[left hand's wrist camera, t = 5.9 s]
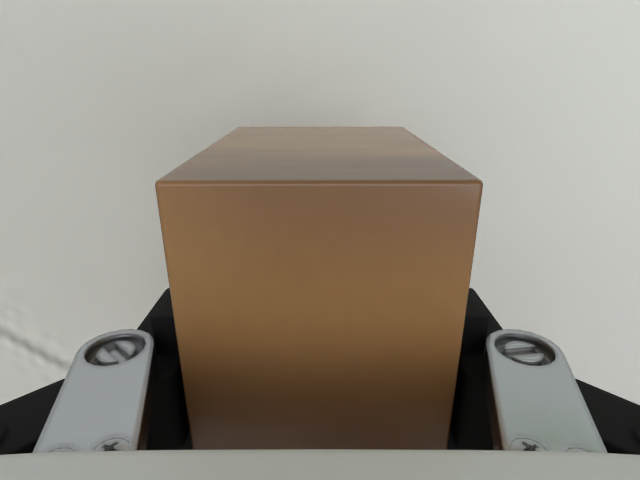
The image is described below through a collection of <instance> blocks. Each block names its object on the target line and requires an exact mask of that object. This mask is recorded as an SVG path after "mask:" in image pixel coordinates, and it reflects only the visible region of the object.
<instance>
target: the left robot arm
mask: <svg viewBox="0 0 640 480" xmlns="http://www.w3.org/2000/svg"><path fill="white" fill-rule="evenodd" d="M0 480H640V405H637V404H635V403H633V402H630V401H628V400H625V399H623V398H621V397H618V396H616V395H613V394H611V393H609V392H606V391H604V390H601V389H599V388H597V387H594V386H592V385H589V384H587V383H585V382H582V381H580V380H577V379H575V378H574V376H573V373H572V371H571V369H570V367H569V364H568V362H567V360H566V357H565V355H564V353H563V352H562V351H561V349H560V348H559V347H558V346H557V345H556V344H554V343H553V342H552V341H550V340H548V339H546V338H544V337H542V336H540V335H537V334H534V333H531V332H527V331H522V330H513V329H506V330H503V329H502V328H501V326H500V325H499V324H498V322H497V321H496V319H495V318H494V317H493V315H492V314H491V313H490V311H489V310H488V308H487V307H486V306H485V304H484V303H483V302H482V300H481V299H480V298H479V296H478V295H477V293H476V292H475V291H474V290H473V289H472V288H469V292H468V299H467V306H466V314H465V321H464V329H463V336H462V343H461V351H460V358H459V366H458V373H457V380H456V388H455V395H454V403H453V410H452V417H451V425H450V432H449V440H448V447H447V450H362V449H278V450H192V443H191V435H190V428H189V421H188V414H187V407H186V400H185V393H184V386H183V379H182V372H181V365H180V357H179V350H178V343H177V336H176V329H175V322H174V315H173V308H172V301H171V294H170V288H168V289H167V290H166V291H165V292H164V293H163V295H162V296H161V297H160V299H159V300H158V301H157V303H156V304H155V305H154V307H153V308H152V310H151V311H150V312H149V314H148V315H147V316H146V318H145V319H144V321H143V322H142V323H141V325H140V326H139V327H138V329H137V330H134V329H127V330H118V331H113V332H109V333H106V334H103V335H100V336H98V337H96V338H94V339H92V340H90V341H88V342H87V343H86V344H84V345H83V346H82V347H81V348H80V349H79V351H78V352H77V353H76V355H75V357H74V360H73V362H72V364H71V367H70V369H69V371H68V373H67V376H66V378H65V379H62V380H60V381H58V382H55V383H53V384H50V385H48V386H46V387H43V388H41V389H38V390H36V391H34V392H31V393H29V394H26V395H24V396H22V397H19V398H17V399H14V400H12V401H10V402H7V403H5V404H2V405H0Z"/></svg>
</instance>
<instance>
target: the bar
mask: <svg viewBox="0 0 640 480" xmlns="http://www.w3.org/2000/svg"><path fill="white" fill-rule="evenodd" d="M155 187H156V194H157V201H158V209H159V216H160V223H161V230H162V237H163V244H164V251H165V258H166V265H167V272H168V279H169V287H170V294H171V301H172V308H173V315H174V322H175V329H176V336H177V343H178V350H179V357H180V365H181V372H182V379H183V386H184V393H185V400H186V407H187V414H188V421H189V428H190V435H191V443H192V450H278V449H362V450H447V447H448V440H449V432H450V425H451V417H452V410H453V403H454V395H455V388H456V380H457V373H458V366H459V358H460V351H461V343H462V336H463V329H464V321H465V314H466V306H467V299H468V292H469V284H470V277H471V269H472V262H473V255H474V247H475V240H476V232H477V225H478V218H479V210H480V203H481V195H482V188H483V183H482V181H481V180H480V179H478V178H477V177H475V176H474V175H472V174H471V173H469V172H468V171H466V170H465V169H463V168H462V167H460V166H459V165H458V164H456V163H455V162H453V161H452V160H450V159H449V158H447V157H446V156H444V155H443V154H441V153H440V152H438V151H437V150H435V149H434V148H433V147H431V146H430V145H428V144H427V143H425V142H424V141H422V140H421V139H419V138H418V137H416V136H415V135H413V134H412V133H410V132H409V131H408V130H406V129H405V128H403V127H239V128H237V129H235V130H234V131H232V132H231V133H229V134H228V135H226V136H224V137H223V138H221V139H220V140H218V141H217V142H215V143H214V144H212V145H211V146H209V147H208V148H206V149H205V150H203V151H202V152H200V153H199V154H197V155H196V156H194V157H193V158H191V159H190V160H188V161H186V162H185V163H183V164H182V165H180V166H179V167H177V168H176V169H174V170H173V171H171V172H170V173H168V174H167V175H165V176H164V177H162V178H161V179H159V180H158V181H156V184H155Z"/></svg>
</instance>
